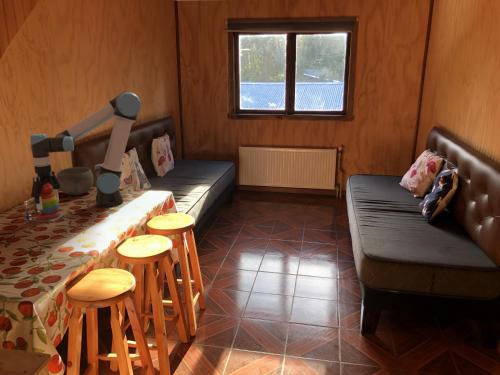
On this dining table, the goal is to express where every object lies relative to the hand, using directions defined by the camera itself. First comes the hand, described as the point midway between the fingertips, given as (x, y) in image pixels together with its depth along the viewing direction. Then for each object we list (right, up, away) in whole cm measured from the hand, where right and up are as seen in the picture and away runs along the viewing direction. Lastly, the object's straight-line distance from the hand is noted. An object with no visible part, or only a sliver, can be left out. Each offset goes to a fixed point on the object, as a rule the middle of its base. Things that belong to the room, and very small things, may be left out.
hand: (48, 205), depth 218 cm
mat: (0, -6, +2) cm, 7 cm away
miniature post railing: (-11, -6, +5) cm, 13 cm away
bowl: (-3, +5, +45) cm, 45 cm away
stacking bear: (0, -6, +2) cm, 6 cm away
